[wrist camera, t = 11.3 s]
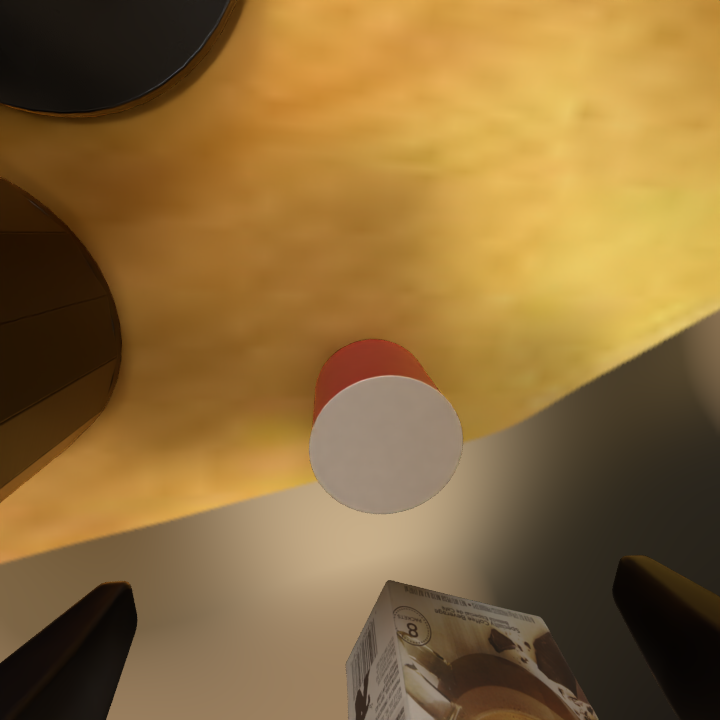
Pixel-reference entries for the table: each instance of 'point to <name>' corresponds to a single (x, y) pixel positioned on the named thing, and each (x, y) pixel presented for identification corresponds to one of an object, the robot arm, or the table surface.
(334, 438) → the coffee pod
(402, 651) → the coffee box
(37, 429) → the tin
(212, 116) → the table surface
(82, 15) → the tin lid
